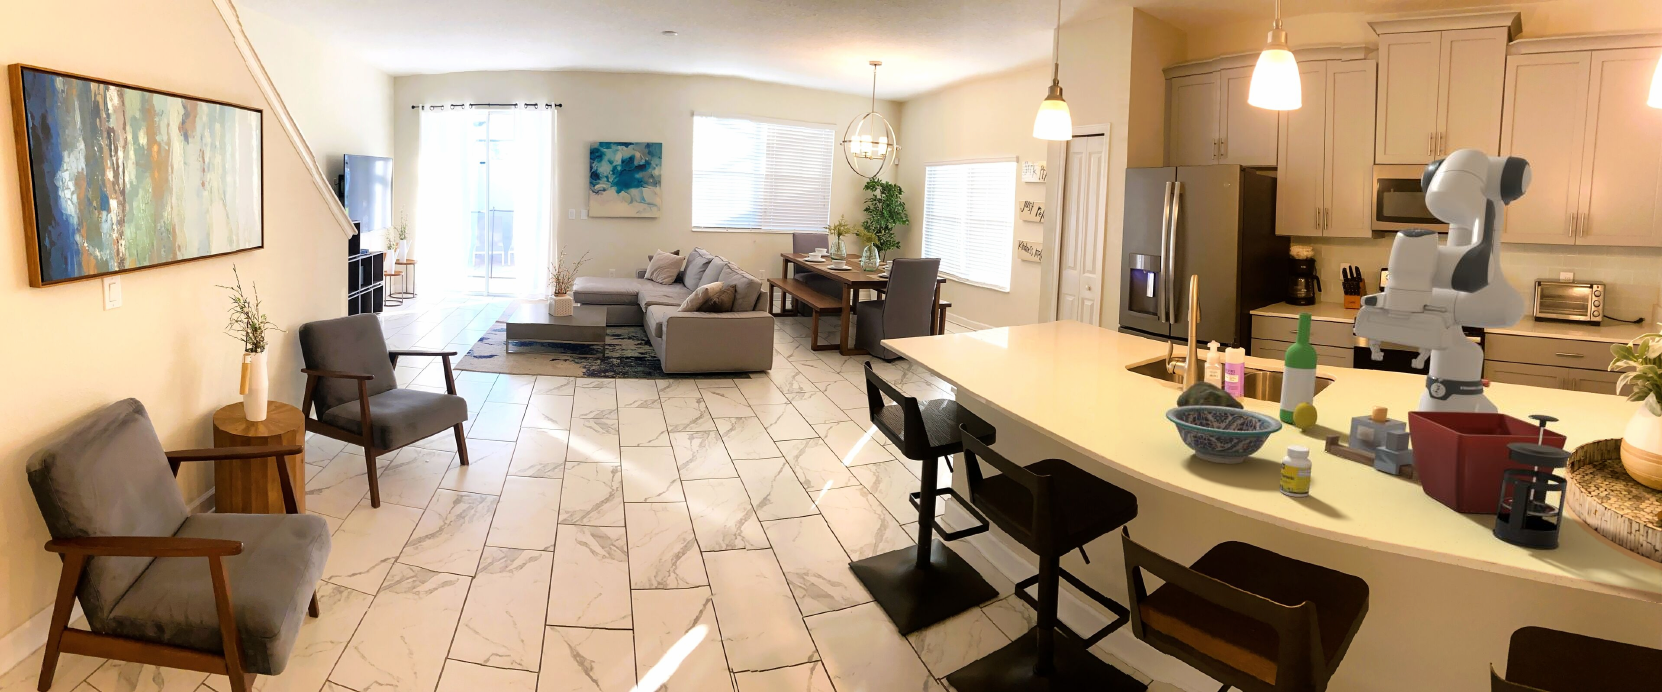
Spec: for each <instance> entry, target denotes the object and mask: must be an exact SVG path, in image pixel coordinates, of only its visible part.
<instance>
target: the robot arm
mask: <svg viewBox="0 0 1662 692" xmlns="http://www.w3.org/2000/svg"><path fill="white" fill-rule="evenodd" d="M1532 175H1533V174H1532V169H1531V167H1530V163H1529V162H1528V161H1527V159H1526V158H1523V157H1518V156H1508V157H1506V156H1505V157H1504V156H1491V155H1490V156H1489V155H1486V153H1484V152H1483V151H1481V150H1478V149H1475V148H1462V149H1458V150H1456V151H1454V152H1451V154H1449V155H1448V156H1447V157H1446V158H1440V159H1436V160H1433V161H1432V162H1430V163H1428V164H1427V165H1426V167H1425V168H1424V171H1423V173H1422V176H1421V181H1420V182H1421V183H1420V186H1421V190H1422V193H1423V195H1424V196H1425V206H1426V208H1427V209H1428V211H1429V212H1430V214H1432V215H1433V216H1434V218H1436V219H1438V220H1440V221H1441V222H1444V223H1446V224H1449V230H1448V234H1447V235H1448V236H1447V242H1446V245H1441V244H1440V245H1439V234H1438V232H1437V231H1435V230H1433V229H1429V228H1405V229H1402V230H1399V231H1398V232H1397V233H1396V235H1395V239H1394V241H1393V244H1392V247H1391V251H1390V255H1389V259H1388V264H1387V265H1388V266H1387V273H1388V279H1387V280H1386V283H1385V285H1384V289H1383V290H1384V291H1383V292H1380V293H1375V294H1370V295H1369V294H1368V295H1365V296H1362V297H1361V299H1360V305H1361V306H1362V307H1360V309H1359V310H1358V312H1357V315H1356V318H1355V324H1354V333H1355V335H1356V337H1358V338H1363V339H1368V346H1369V348H1370V350H1371V360H1373V361H1374V360H1375V361H1383V356H1384V353H1385V352H1381V349H1380V346H1379V345H1381V344H1382V342H1386V343H1391V344H1396V345H1397V344H1399V345H1403V346H1409V347H1415V348H1418V353H1419V355H1418V356H1417V358H1416V359H1415V358H1413V359H1412V360H1411V367H1412V368H1415V369H1423V368H1424V365H1425V361H1426V360H1427V359H1428V358H1429V356H1430V362H1429V363H1430V364H1429V371H1428V372H1429V373H1428V374H1427V375H1426V378H1425V388H1426V389H1425V391H1422V393H1420V398H1419V400H1418V401H1419V402H1418V406H1417V409H1416V411H1433V412H1478V413H1499V408H1498V407H1497V406H1496V405H1495V403H1493V402H1492V401H1491V400H1490V399H1489V398H1488V397H1487V396H1486V395H1485V394H1484V391H1485V390H1484V388H1490V386H1491V383H1492V382H1491V380H1489V379H1484V378H1481V377H1482V371H1483V370H1482V369H1483V363H1484V362H1483V361H1484V355H1485V354H1484V351H1483V349H1482V347H1481V346H1480V344H1478V343H1476V342H1475V341H1473V340H1471V339H1469V338H1468V337H1467V336H1466V335H1465V333H1464V332H1463V328H1462V326H1463V327H1472V328H1473V327H1474V328H1482V329H1483V328H1484V329H1505V328H1508V329H1509V328H1513V327H1514V326H1516V325H1517V324H1519V322H1520V321H1521V320H1522V319H1523V318H1524V316H1525V313H1526V311H1527V310H1526V309H1527V303H1526V300H1525V298H1524V295H1522V293H1521V292H1520V291H1519V290H1518V289H1516V288H1515V286H1513V285H1512V284H1510V282H1509V281H1508V280H1507V278H1506V277H1505V275H1504V272H1503V270H1502V267H1501V263H1500V262H1501V261H1500V255H1501V253H1500V252H1501V241H1502V235H1503V234H1502V233H1503V229H1504V227H1503V226H1504V216H1505V213H1504V212H1505V209H1504V208H1505V207H1506V206H1510V204H1511V203H1512V202H1513V201H1516V200H1518V199H1520V198H1521V197H1522V196H1524V194H1525V195H1526V192H1527V190H1528V188H1529V187H1530V184H1531V182H1532V177H1533V176H1532ZM1504 206H1505V207H1504Z"/></svg>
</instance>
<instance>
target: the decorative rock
mask: <svg viewBox="0 0 1662 692" xmlns="http://www.w3.org/2000/svg"><path fill="white" fill-rule="evenodd" d="M1176 405H1177V407H1183V406H1219V407H1229V408H1237V409H1243V410H1245V407H1244V405H1243V404H1242V403H1241V402H1239V401H1238V400H1237V399H1236V398H1235V397H1234V396H1233V395H1232V394H1231V393H1230V392H1228V391H1227V390H1225V389H1222V388H1220V387H1218V386H1217V385H1215V384H1213V383H1211V382H1209V381H1208V382H1207V381H1203V380H1202V381H1196V382H1194V383H1193V384H1192V385H1190V386H1189V387H1188V388H1187V389H1186V390H1185V391H1183V392H1182V393H1181V394H1180V395H1179V396H1178V398H1177V400H1176Z"/></svg>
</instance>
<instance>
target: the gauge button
mask: <svg viewBox="0 0 1662 692" xmlns="http://www.w3.org/2000/svg"><path fill="white" fill-rule="evenodd" d="M1388 410H1389V409H1388V407H1385V406H1376V405H1375V406H1372V413H1371V415H1372V420H1373V421H1377V422H1386V419H1387V418H1388Z"/></svg>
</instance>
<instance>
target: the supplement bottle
mask: <svg viewBox="0 0 1662 692" xmlns="http://www.w3.org/2000/svg"><path fill="white" fill-rule="evenodd" d="M1286 454H1287V455H1286V456H1284V457H1283V458H1282V462H1281V470H1280V471H1281V472H1280V479H1279V480H1280V481H1279V491H1280V492H1281V493H1282V494H1283V493H1284V494H1283V495H1286V496H1288V497H1295V498H1303V497H1307V496H1309V494H1310V486H1311V485H1310V484H1311V474H1312V466H1313V463H1312V461H1311V459H1309V458H1308V457H1309V456H1310V449H1309V447H1305V446H1301V445H1288V446H1287V450H1286Z"/></svg>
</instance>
